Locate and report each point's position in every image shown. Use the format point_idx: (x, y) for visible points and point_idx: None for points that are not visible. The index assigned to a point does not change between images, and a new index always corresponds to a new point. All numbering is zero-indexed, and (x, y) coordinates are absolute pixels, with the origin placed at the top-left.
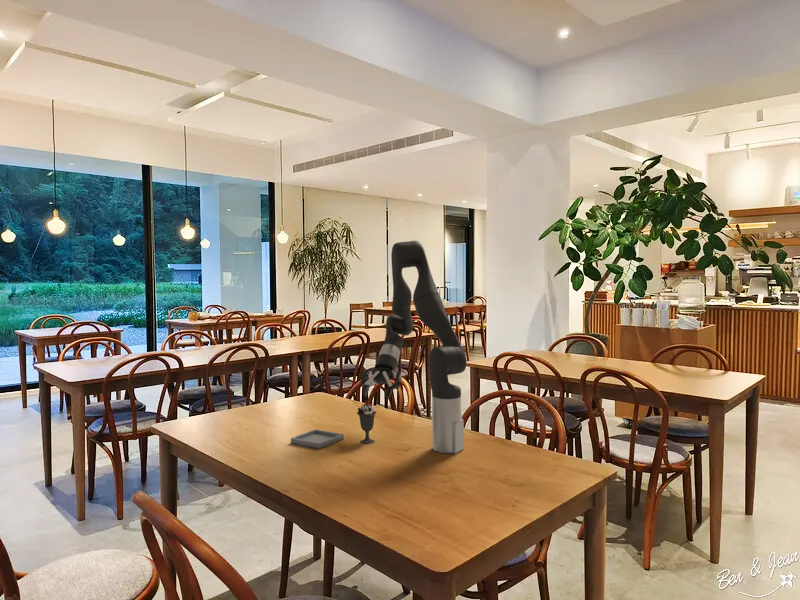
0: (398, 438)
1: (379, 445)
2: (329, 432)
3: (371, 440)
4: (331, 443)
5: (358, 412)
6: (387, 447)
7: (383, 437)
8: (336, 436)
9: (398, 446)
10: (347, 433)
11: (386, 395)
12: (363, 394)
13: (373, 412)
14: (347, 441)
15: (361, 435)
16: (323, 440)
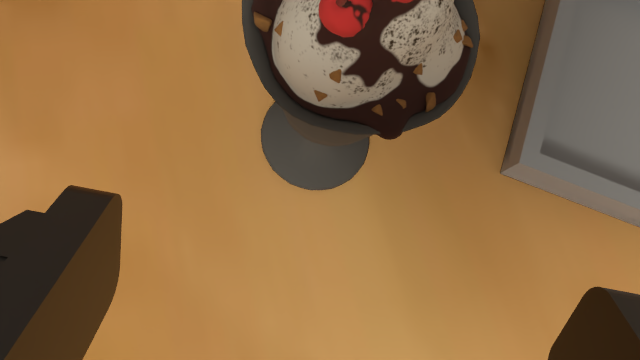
0: None
1: (206, 69)
2: (637, 191)
3: (284, 132)
4: (534, 50)
5: (458, 12)
6: (139, 33)
7: (216, 266)
8: (544, 98)
9: (58, 61)
10: (531, 327)
11: (84, 188)
12: (613, 293)
13: (278, 9)
14: (456, 130)
15: (407, 292)
16: (607, 88)
